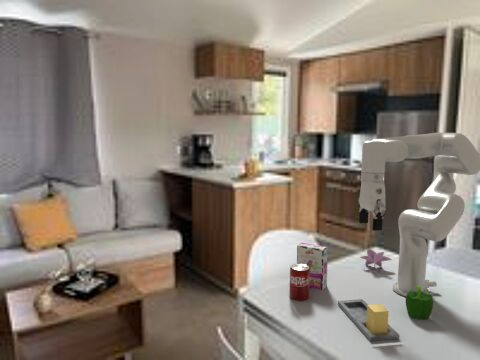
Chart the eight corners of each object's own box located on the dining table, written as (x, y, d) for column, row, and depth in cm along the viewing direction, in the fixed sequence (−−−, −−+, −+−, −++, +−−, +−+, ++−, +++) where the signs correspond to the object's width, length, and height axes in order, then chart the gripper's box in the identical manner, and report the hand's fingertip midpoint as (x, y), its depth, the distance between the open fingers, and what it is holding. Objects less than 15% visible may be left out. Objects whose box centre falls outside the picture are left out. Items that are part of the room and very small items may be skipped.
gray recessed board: (362, 304, 138) (362, 299, 138) (399, 341, 115) (399, 335, 115) (337, 306, 137) (338, 300, 137) (370, 343, 114) (370, 337, 113)
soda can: (309, 303, 139) (310, 271, 137) (288, 301, 140) (289, 269, 139) (309, 295, 146) (310, 264, 144) (290, 293, 148) (290, 262, 146)
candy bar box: (327, 287, 153) (328, 246, 151) (322, 291, 149) (323, 250, 147) (301, 280, 159) (302, 241, 157) (295, 284, 155) (296, 244, 153)
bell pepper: (430, 325, 124) (432, 295, 123) (402, 318, 128) (404, 289, 127) (433, 314, 131) (435, 286, 130) (407, 308, 136) (408, 281, 134)
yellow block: (379, 327, 122) (381, 304, 121) (387, 334, 117) (388, 311, 116) (366, 328, 121) (367, 305, 120) (372, 335, 117) (374, 312, 116)
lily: (394, 273, 170) (392, 251, 174) (383, 269, 162) (381, 246, 166) (368, 275, 178) (367, 254, 182) (356, 271, 170) (355, 249, 174)
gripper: (396, 180, 124) (393, 233, 127) (370, 173, 141) (368, 220, 144) (374, 181, 123) (371, 233, 126) (351, 174, 140) (349, 220, 143)
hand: (370, 226), depth 135 cm, fingers open, 9 cm apart
